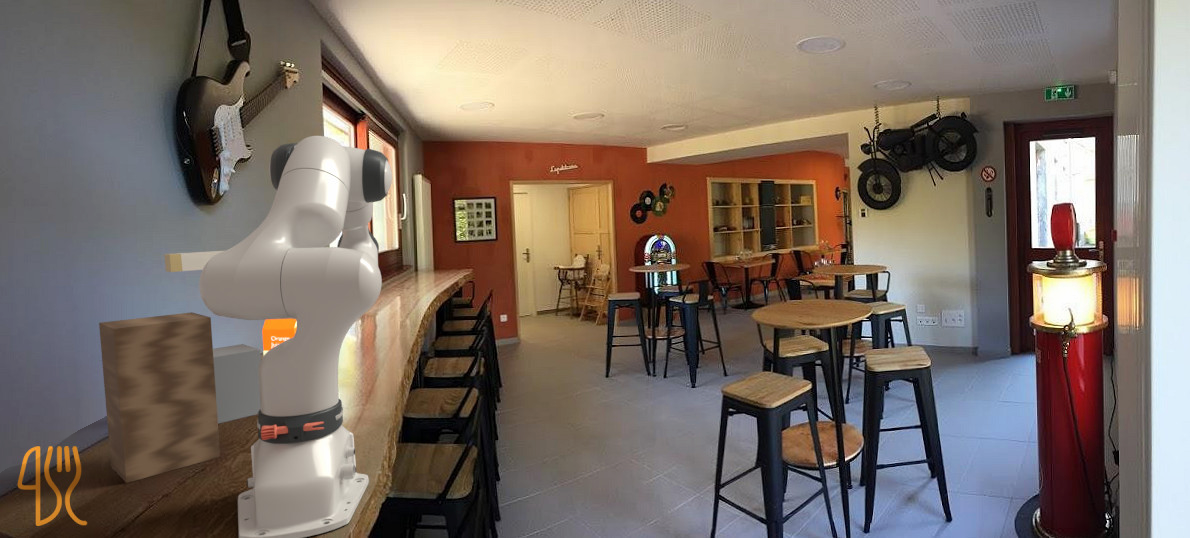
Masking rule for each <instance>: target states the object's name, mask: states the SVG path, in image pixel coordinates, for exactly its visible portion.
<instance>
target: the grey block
mask: <svg viewBox="0 0 1190 538" xmlns="http://www.w3.org/2000/svg"><path fill="white" fill-rule="evenodd" d="M213 359H214V374H215V388H216V403H217V417H218V425H219V424H222V423H226V422H231V421H236V420H239V419H242V418H243V419H244V418H248V417H252V416H257V415H258V412H259V410H260V409H261V404H260V389H259V373H258V368H259V364H260V361H261V359H262V354H261V349H260V348H256V347H253V346H251V345H247V344H245V343H244V344H243V343H242V344H236V345H235V344H234V345H228V346H221V347H216V348H215V347H213Z"/></svg>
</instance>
